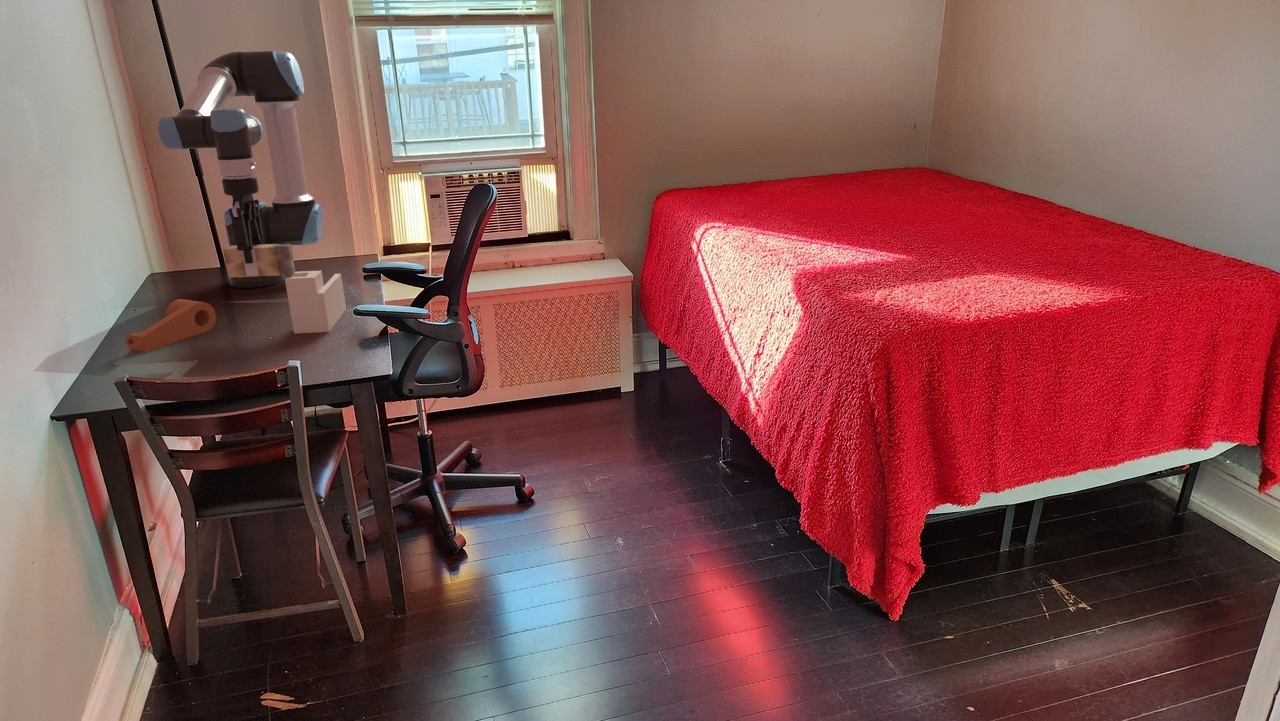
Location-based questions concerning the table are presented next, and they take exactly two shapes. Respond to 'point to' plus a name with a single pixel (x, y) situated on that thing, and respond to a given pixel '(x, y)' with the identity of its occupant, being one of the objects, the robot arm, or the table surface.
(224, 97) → the robot arm
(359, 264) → the table surface
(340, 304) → the white notched block
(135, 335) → the crank
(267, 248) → the tan wooden block
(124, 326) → the table surface
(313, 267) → the table surface
